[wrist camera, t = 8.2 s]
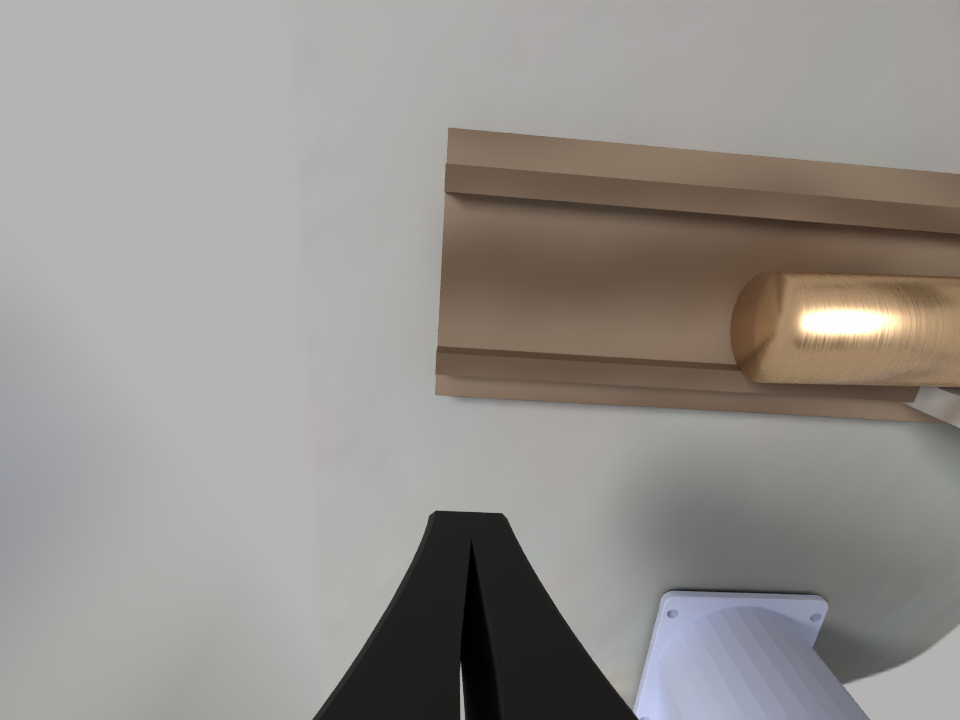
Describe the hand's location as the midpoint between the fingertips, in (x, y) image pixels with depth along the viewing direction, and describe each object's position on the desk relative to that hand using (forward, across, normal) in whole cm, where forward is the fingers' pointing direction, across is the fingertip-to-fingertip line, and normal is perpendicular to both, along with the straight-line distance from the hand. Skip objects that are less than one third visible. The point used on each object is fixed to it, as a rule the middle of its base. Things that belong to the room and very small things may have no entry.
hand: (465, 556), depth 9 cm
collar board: (+10, -12, -4) cm, 16 cm away
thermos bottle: (+9, -18, -4) cm, 20 cm away
